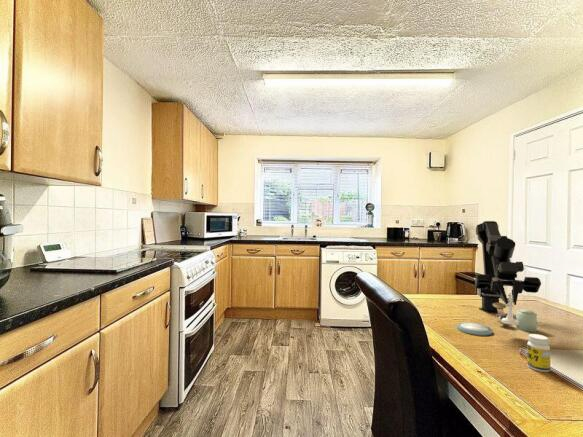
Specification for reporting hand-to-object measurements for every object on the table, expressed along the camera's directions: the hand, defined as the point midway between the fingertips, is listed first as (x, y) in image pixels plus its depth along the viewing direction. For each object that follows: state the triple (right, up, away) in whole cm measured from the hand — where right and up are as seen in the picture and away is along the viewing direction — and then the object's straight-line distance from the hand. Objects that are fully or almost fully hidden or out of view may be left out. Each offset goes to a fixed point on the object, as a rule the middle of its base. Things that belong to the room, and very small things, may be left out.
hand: (511, 304), depth 103 cm
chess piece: (+1, -7, +1) cm, 7 cm away
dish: (-8, -11, +7) cm, 16 cm away
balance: (+9, -12, +17) cm, 22 cm away
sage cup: (+12, -11, +8) cm, 18 cm away
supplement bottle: (-9, -11, -22) cm, 26 cm away
